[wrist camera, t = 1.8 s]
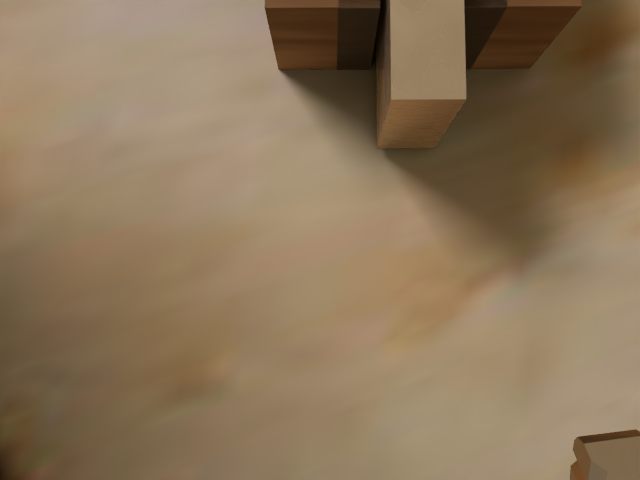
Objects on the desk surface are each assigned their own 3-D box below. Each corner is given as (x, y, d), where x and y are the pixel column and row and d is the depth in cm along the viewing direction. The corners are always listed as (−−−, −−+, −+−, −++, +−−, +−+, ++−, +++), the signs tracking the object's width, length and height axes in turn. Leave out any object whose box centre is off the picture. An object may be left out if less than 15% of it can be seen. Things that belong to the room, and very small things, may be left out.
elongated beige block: (434, 148, 42) (466, 99, 32) (376, 148, 42) (391, 99, 32) (431, -16, 43) (461, -111, 33) (375, -15, 43) (389, -111, 33)
